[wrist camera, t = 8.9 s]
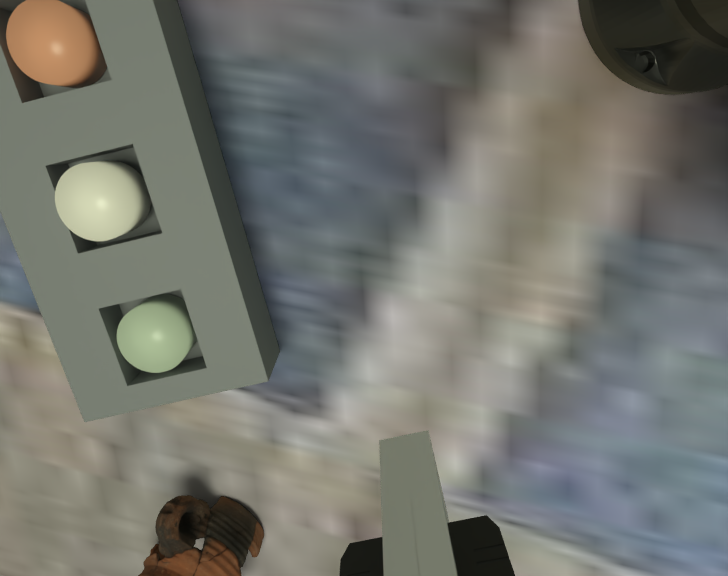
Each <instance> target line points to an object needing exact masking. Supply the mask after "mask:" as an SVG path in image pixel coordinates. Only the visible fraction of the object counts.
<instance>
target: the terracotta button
mask: <svg viewBox="0 0 728 576" xmlns="http://www.w3.org/2000/svg"><path fill="white" fill-rule="evenodd" d="M6 39H7V45H8V49H9V52H10V54H11V56H12V58H13V60H14V62H15V63H16V65H17V66H18V67H19V68H20V69H21V70H22V71H23V72H24V73H25V74H26V75H27V76H29V77H30V78H32V79H34V80H36V81H39V82H41V83H45V84H51V85H57V86H63V87H69V88H83V87H86V86H89V85H91V84H93V83H95V82H96V81H97V80H98V79H99V78H100V77H101V76H102V75H103V73H104V72H105V70H106V67H107V64H106V61H105V58H104V55H103V52H102V49H101V46H100V43H99V40H98V37H97V34H96V31H95V28H94V25H93V22H92V19H91V16H89V15H88V14H87V13H85V12H83V11H81V10H78V9H76V8H74V7H72V6H70V5H67V4H65V3H63V2H61V1H58V0H26V1H24V2H22V3H21V4H20V5H18V6H17V7H16V8H15V10H14V11H13V12H12V14H11V16H10V18H9V21H8V24H7V30H6Z"/></svg>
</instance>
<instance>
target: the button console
mask: <svg viewBox="0 0 728 576" xmlns="http://www.w3.org/2000/svg"><path fill="white" fill-rule="evenodd" d="M24 1H26V0H0V212H1V214H2V217H3V219H4V222H5V224H6V227H7V229H8V232H9V234H10V237H11V239H12V242H13V244H14V247H15V249H16V252H17V254H18V257H19V259H20V262H21V264H22V267H23V269H24V272H25V274H26V277H27V279H28V282H29V284H30V287H31V289H32V292H33V294H34V297H35V299H36V302H37V304H38V307H39V309H40V312H41V314H42V317H43V319H44V322H45V324H46V327H47V329H48V332H49V334H50V337H51V339H52V342H53V344H54V347H55V349H56V352H57V354H58V357H59V359H60V362H61V364H62V367H63V369H64V372H65V374H66V377H67V379H68V382H69V384H70V387H71V389H72V392H73V394H74V397H75V399H76V402H77V404H78V407H79V409H80V412H81V414H82V417H83V419H84V422H88V421H93V420H97V419H102V418H106V417H110V416H115V415H119V414H124V413H128V412H133V411H137V410H142V409H146V408H151V407H155V406H160V405H164V404H169V403H173V402H178V401H182V400H187V399H191V398H195V397H200V396H204V395H209V394H213V393H218V392H222V391H227V390H231V389H236V388H240V387H245V386H249V385H254V384H258V383H263V382H267V381H269V378H270V376H271V373H272V371H273V368H274V365H275V363H276V360H277V358H278V355H279V352H280V349H279V346H278V343H277V339H276V336H275V332H274V329H273V326H272V322H271V319H270V315H269V312H268V309H267V305H266V302H265V298H264V295H263V292H262V288H261V285H260V281H259V278H258V274H257V271H256V268H255V264H254V261H253V257H252V254H251V251H250V247H249V244H248V240H247V237H246V234H245V230H244V227H243V223H242V220H241V217H240V213H239V210H238V206H237V203H236V199H235V196H234V193H233V189H232V186H231V182H230V179H229V176H228V172H227V169H226V165H225V162H224V159H223V155H222V152H221V148H220V145H219V142H218V138H217V135H216V131H215V128H214V125H213V121H212V118H211V114H210V111H209V107H208V104H207V101H206V97H205V94H204V90H203V87H202V84H201V80H200V77H199V73H198V70H197V67H196V63H195V60H194V56H193V53H192V50H191V46H190V43H189V39H188V36H187V32H186V29H185V26H184V22H183V19H182V15H181V12H180V9H179V5H178V2H177V0H58V1H61V2H63V3H65V4H67V5H70V6H72V7H74V8H76V9H78V10H81V11H83V12H85V13H87V14H88V15H89V16H91V19H92V22H93V25H94V28H95V31H96V34H97V37H98V40H99V43H100V46H101V49H102V52H103V55H104V58H105V61H106V64H107V67H106V70H105V72H104V73H103V75H102V76H101V77H100V78H99V79H98V80H97V81H96V82H95V83H93V84H91V85H89V86H86V87H83V88H69V87H63V86H57V85H51V84H45V83H41V82H39V81H36V80H34V79H32V78H30V77H29V76H27V75H26V74H25V73H24V72H23V71H22V70H21V69H20V68H19V67H18V66H17V65H16V63H15V62H14V60H13V58H12V56H11V54H10V52H9V49H8V45H7V39H6V30H7V24H8V21H9V18H10V16H11V14H12V12H13V11H14V10H15V8H16V7H17V6H18V5H20V4H21V3H22V2H24ZM98 161H118V162H122V163H125V164H127V165H129V166H131V167H132V168H134V169H135V170H136V171H137V172H138V173H139V174H140V175H141V176H142V177H143V179H144V180H145V182H146V185H147V188H148V191H149V194H150V197H151V205H150V210H149V213H148V216H147V218H146V219H145V221H144V222H143V223H142V224H141V225H140V226H139V227H138V228H136V229H135V230H133V231H131V232H128V233H126V234H123V235H121V236H118V237H116V238H113V239H110V240H107V241H91V240H87V239H84V238H82V237H80V236H78V235H76V234H75V233H73V232H72V231H71V230H70V229H69V228H68V227H67V226H66V225H65V224H64V223H63V221H62V220H61V218H60V216H59V214H58V212H57V209H56V204H55V190H56V186H57V184H58V181H59V179H60V178H61V176H62V175H63V174H64V173H65V172H66V171H67V170H68V169H70V168H71V167H73V166H75V165H78V164H81V163H87V162H98ZM159 294H169V295H174V296H176V297H179V298H181V299H183V300H184V301H185V303H186V306H187V309H188V312H189V315H190V318H191V321H192V324H193V327H194V331H195V334H196V337H197V342H196V344H195V345H194V346H193V348H192V349H191V350H190V351H189V353H188V354H187V355H186V356H185V358H184V359H183V360H182V361H181V362H180V363H179V364H178V365H177V366H176V367H174V368H173V369H171V370H168V371H165V372H160V373H151V372H146V371H143V370H140V369H138V368H136V367H134V366H133V365H132V364H130V363H129V362H128V361H127V360H126V359H125V358H124V356H123V355H122V353H121V352H120V349H119V347H118V343H117V329H118V326H119V323H120V321H121V320H122V318H123V317H124V316H125V315H126V314H127V313H128V312H129V311H131V310H132V309H133V308H135V307H136V306H137V305H139V304H140V303H141V302H143V301H144V300H146V299H147V298H149V297H151V296H154V295H159Z"/></svg>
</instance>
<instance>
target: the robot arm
mask: <svg viewBox="0 0 728 576" xmlns="http://www.w3.org/2000/svg"><path fill="white" fill-rule="evenodd" d="M579 9H580V15H581V19H582V23H583V27H584V30H585V33H586V35H587V38H588V40H589V42H590V44H591V46H592V48H593V49H594V51H595V53H596V54H597V56H598V57H599V58H600V60H601V61H602V62H603V63H604V65H605V66H606V67H607V68H608V69H609V70H610V71H611V72H613V73H614V74H615V75H616V76H617V77H619V78H620V79H622V80H623V81H625V82H627V83H628V84H630V85H632V86H634V87H636V88H639V89H642V90H645V91H648V92H653V93H658V94H670V95H675V94H686V93H694V92H701V91H707V90H711V89H715V88H718V87H721V86H724V85H727V84H728V0H579ZM379 444H380V476H381V507H382V537H380V538H375V539H370V540H365V541H360V542H355V543H350V544H349V546H348V547H347V549H346V551H345V553H344V555H343V556H342V558H341V563H340V576H515V574H514V571H513V568H512V565H511V562H510V560H509V556H508V553H507V550H506V547H505V544H504V541H503V538H502V535H501V531H500V528H499V527H498V526H497V525H496V524H495V523H494V522H493V521H492V520H491V519H490V518H489V517H488V516H487V515H486V516H480V517H475V518H470V519H465V520H460V521H455V522H450V523H449V520H448V515H447V510H446V505H445V501H444V497H443V492H442V488H441V484H440V479H439V475H438V471H437V466H436V462H435V458H434V453H433V449H432V445H431V440H430V436H429V432H428V431H423V432H418V433H413V434H408V435H404V436H399V437H394V438H389V439H384V440H379Z"/></svg>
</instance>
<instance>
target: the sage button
mask: <svg viewBox="0 0 728 576" xmlns="http://www.w3.org/2000/svg"><path fill="white" fill-rule="evenodd" d="M196 342H197V337H196V334H195V331H194V327H193V324H192V321H191V318H190V315H189V312H188V309H187V306H186V303H185V301H184V300H183V299H181V298H179V297H176V296H174V295H169V294H159V295H154V296H151V297H149V298H147V299H146V300H144V301H143V302H141V303H140V304H139V305H137V306H136V307H135V308H133V309H132V310H131V311H129V312H128V313H127V314H126V315H125V316H124V317H123V318H122V320H121V321H120V323H119V326H118V329H117V343H118V347H119V349H120V352H121V353H122V355H123V356H124V358H125V359H126V360H127V361H128V362H129V363H130V364H132V365H133V366H134V367H136V368H138V369H140V370H143V371H146V372H151V373H160V372H165V371H168V370H171V369H173V368H174V367H176V366H177V365H178V364H179V363H180V362H181V361H182V360H183V359H184V358H185V356H186V355H187V354H188V353H189V351H190V350H191V349H192V348H193V346H194V345H195V344H196Z"/></svg>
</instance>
